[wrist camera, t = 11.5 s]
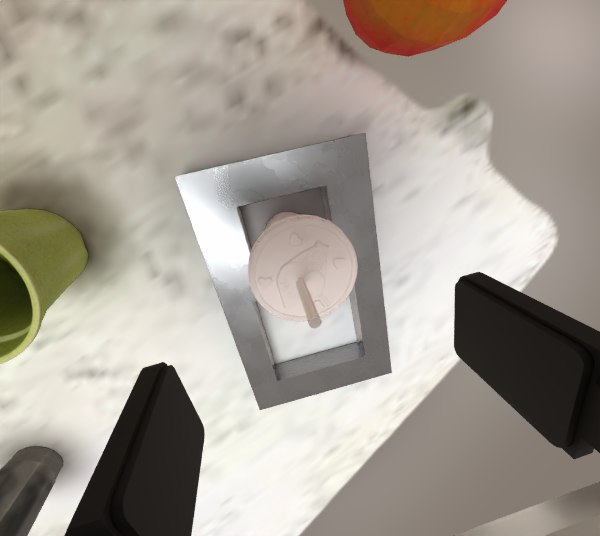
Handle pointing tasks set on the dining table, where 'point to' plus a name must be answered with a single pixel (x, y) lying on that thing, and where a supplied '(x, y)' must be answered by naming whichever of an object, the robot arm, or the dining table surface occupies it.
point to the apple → (417, 22)
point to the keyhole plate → (236, 249)
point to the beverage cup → (26, 488)
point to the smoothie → (302, 267)
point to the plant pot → (33, 272)
